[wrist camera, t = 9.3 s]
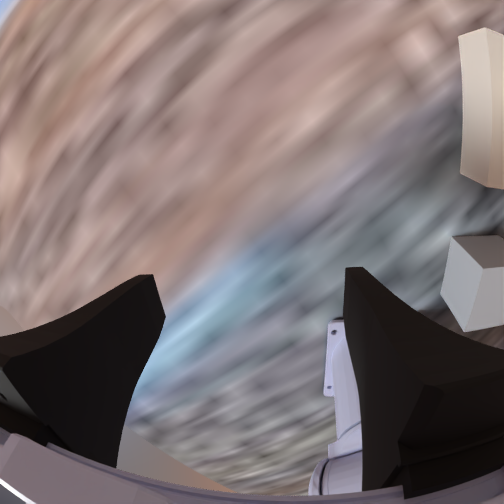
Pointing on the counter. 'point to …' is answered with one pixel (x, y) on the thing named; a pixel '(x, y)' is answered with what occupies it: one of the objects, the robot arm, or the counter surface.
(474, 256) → the grey cube
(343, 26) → the counter surface
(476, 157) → the base block
